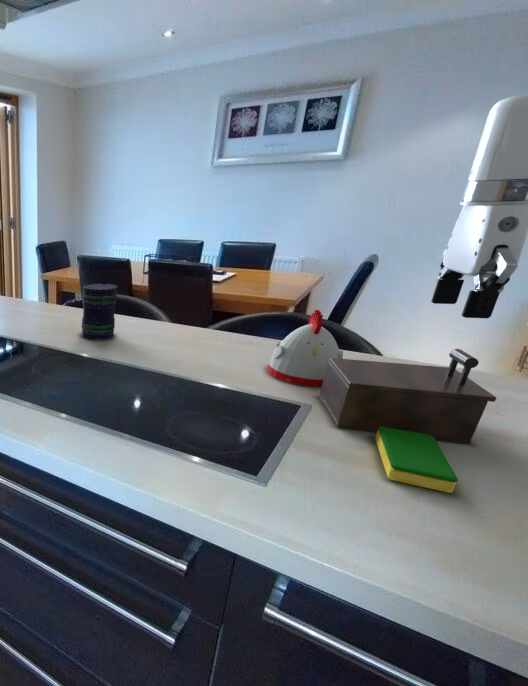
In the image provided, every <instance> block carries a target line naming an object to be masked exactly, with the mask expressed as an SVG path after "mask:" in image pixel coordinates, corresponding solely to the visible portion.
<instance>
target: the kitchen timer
mask: <svg viewBox="0 0 528 686" xmlns="http://www.w3.org/2000/svg"><path fill="white" fill-rule="evenodd" d="M323 317H324V314H322V311H320V309H314V311H313V312H312V313H311V316H309V317H308V324H305V325H302V326H300V327H298V328H296V329H294V330H293V331H291V332H290V333H288V334H287V336H285V338H283V339H282V340H281V341H280V340H279V341H277V343H276V346H275V347H274V350H273V352H272V356H271V358H270V361H269V364H268V369H267V371H268V373H269V374H270V375H271V376H272V377H274V378H276V379H278V380H280V381H283V382H287V383H289V384H292V385H298V386H299V385H300V386H304V387H314V388H319V387H320V388H321V387H322V384H323V380H324V376H325V373H326V369H327V365H328V362H329V358H339V359H344V350H343V349H342V350H340V349H339V345H338V343H337V340H336V339H335V337H334V336H333V335H332V333H331V332H330V331H329V330H327V329H326V327H323V325H324V321H323Z"/></svg>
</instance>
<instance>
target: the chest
mask: <svg viewBox="0 0 528 686" xmlns="http://www.w3.org/2000/svg"><path fill="white" fill-rule="evenodd" d="M318 398H319V399H320V402H321V403H322V405H323V407H324V408H325V410H326V412H327V413H328V415H329V416H330V418H331V420H332V422H333V423H334V425H335V427H336V428H340V429H348V430H355V431H362V432H371V433H377V431H378V430H379V429H378V428H379V427H381V426H382V427H387V428H393V429H398V430H404V431H409V432H415V433H421V434H426V435H432V436H434V437H435V439H436V441H441V442H442V441H443V442H451V443H459V444H465V445H470V444H471V441H472V439H473V437H474V435H475V432H476V430H477V427H478V426H479V424H480V420H481V419H482V416H483V414H484V412H485V409H486V408H487V405H488V402H489V401H482V400H472V399H462V398H452V397H442V396H432V395H422V394H412V393H402V392H392V391H382V390H372V389H362V388H352V387H348V385H347V384H346V383H345V382H344V380H343V379H342V378H341V376H340V375H339V374H338V373H337V371H336V370H335V369H334V368H333V366H332V365H331V364H330V362H328V365H327V369H326V373H325V376H324V380H323V384H322V387H320V391H319V396H318Z"/></svg>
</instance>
